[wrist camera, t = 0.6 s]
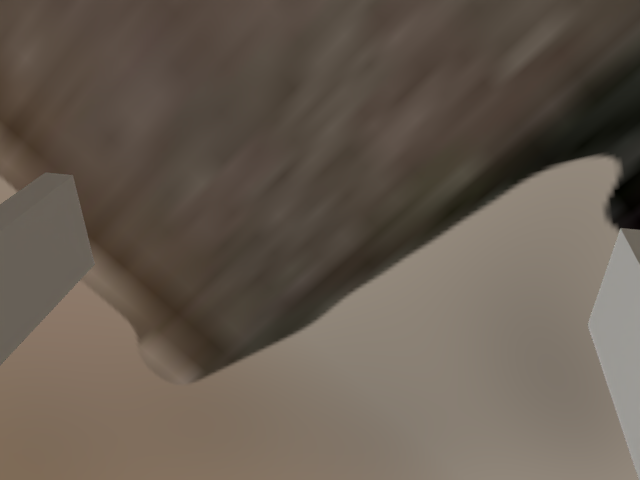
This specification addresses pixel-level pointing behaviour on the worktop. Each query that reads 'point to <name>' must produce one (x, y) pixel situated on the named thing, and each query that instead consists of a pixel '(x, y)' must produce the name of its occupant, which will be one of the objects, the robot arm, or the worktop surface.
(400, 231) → the worktop surface
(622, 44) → the worktop surface
